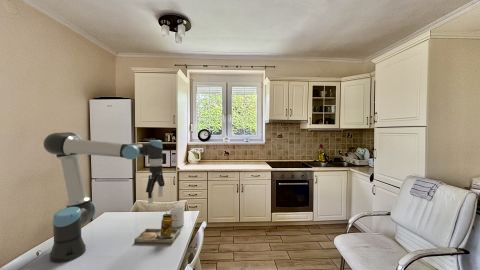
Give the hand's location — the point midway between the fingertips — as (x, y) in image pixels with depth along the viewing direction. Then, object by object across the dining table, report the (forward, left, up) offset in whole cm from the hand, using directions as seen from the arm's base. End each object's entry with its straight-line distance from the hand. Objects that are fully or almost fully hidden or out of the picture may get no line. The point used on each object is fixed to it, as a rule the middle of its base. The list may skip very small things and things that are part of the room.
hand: (155, 199), depth 140 cm
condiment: (-4, -7, -20) cm, 22 cm away
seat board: (-3, -2, -22) cm, 23 cm away
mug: (+15, -6, -23) cm, 28 cm away
